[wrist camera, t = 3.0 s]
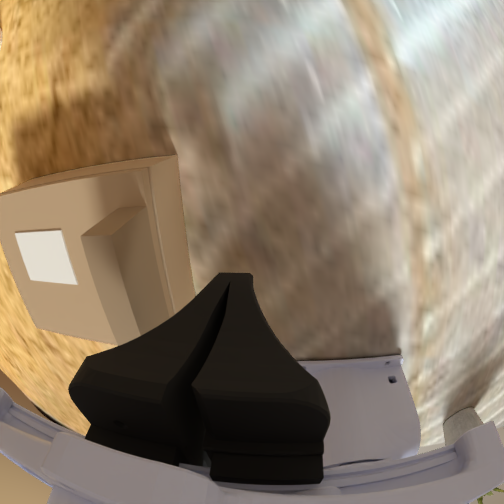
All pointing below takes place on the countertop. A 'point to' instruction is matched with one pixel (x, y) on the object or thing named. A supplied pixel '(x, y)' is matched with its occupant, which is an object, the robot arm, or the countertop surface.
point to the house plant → (463, 431)
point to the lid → (88, 256)
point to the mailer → (165, 213)
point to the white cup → (0, 37)
